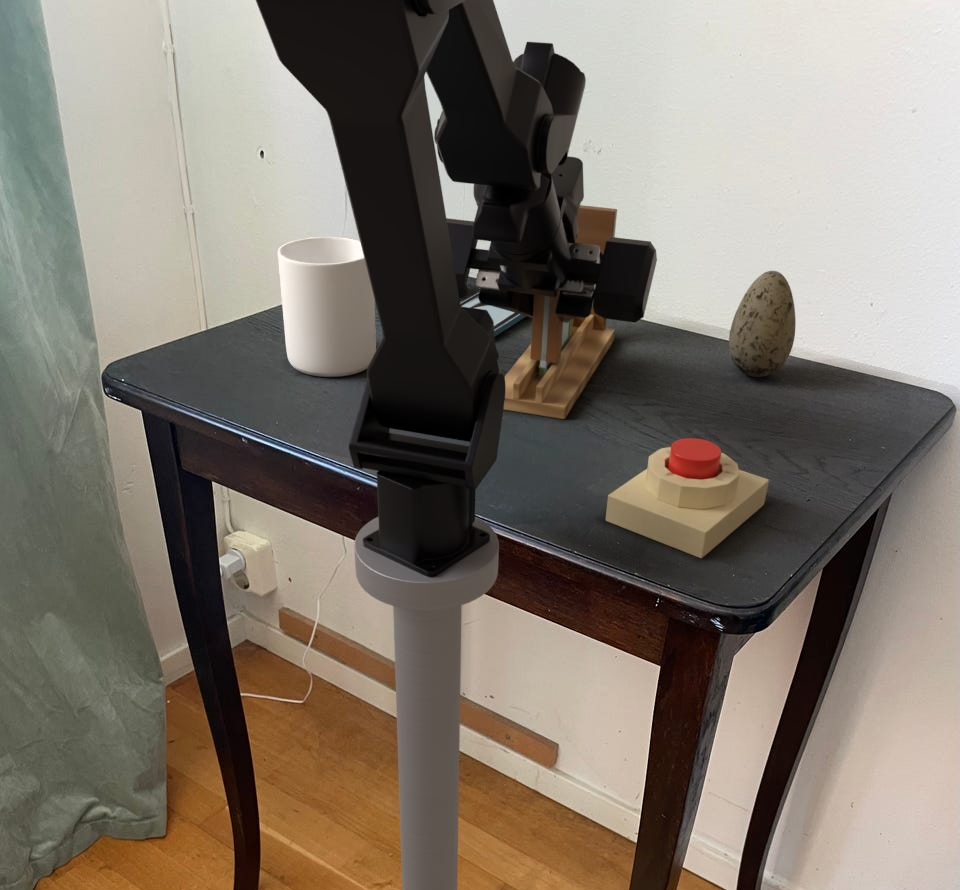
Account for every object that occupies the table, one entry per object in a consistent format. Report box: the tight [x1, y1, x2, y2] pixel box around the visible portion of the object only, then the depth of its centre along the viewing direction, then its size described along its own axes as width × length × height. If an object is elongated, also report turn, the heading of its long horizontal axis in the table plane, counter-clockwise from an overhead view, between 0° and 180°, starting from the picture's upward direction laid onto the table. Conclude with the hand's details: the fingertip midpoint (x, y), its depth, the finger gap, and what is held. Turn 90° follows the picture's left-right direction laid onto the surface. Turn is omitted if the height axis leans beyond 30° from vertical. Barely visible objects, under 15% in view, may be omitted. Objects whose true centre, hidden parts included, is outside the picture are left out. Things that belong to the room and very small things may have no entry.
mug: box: [277, 236, 377, 378], centre depth 97 cm, size 9×12×11 cm
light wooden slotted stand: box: [503, 204, 618, 420], centre depth 95 cm, size 20×7×13 cm, turn 162°
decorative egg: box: [728, 270, 797, 378], centre depth 96 cm, size 6×6×10 cm
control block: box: [605, 446, 770, 559], centre depth 76 cm, size 10×8×4 cm
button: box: [668, 437, 722, 480], centre depth 74 cm, size 4×4×2 cm
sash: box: [530, 291, 572, 377], centre depth 95 cm, size 9×2×9 cm, turn 162°
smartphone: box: [460, 291, 527, 338], centre depth 111 cm, size 7×1×15 cm
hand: (552, 315), depth 92 cm, fingers closed on sash, 2 cm apart
